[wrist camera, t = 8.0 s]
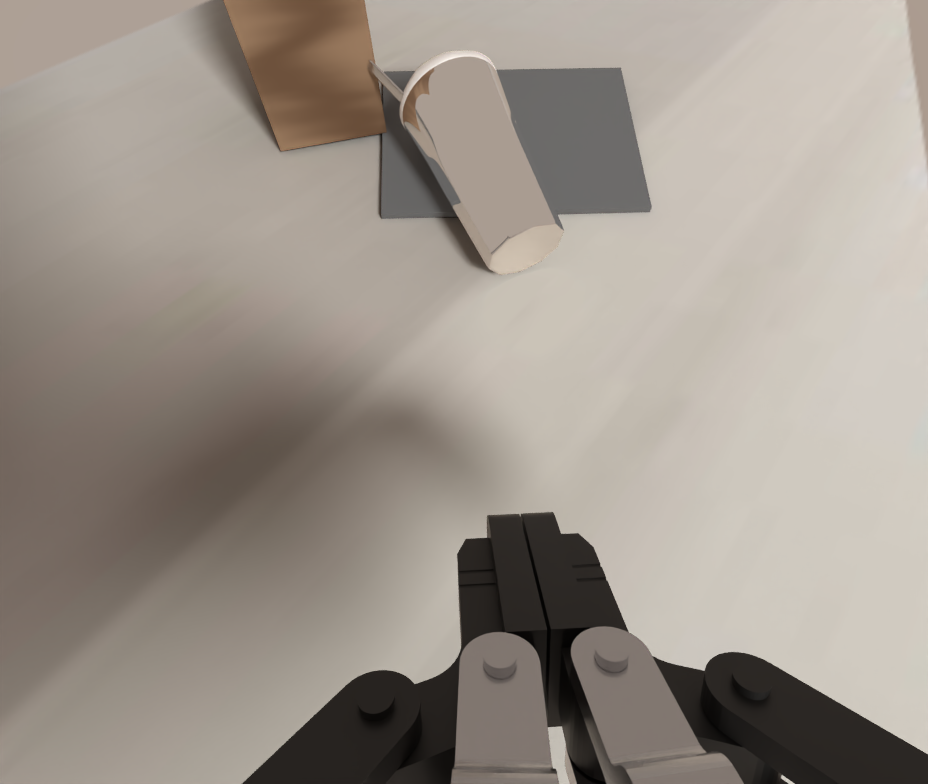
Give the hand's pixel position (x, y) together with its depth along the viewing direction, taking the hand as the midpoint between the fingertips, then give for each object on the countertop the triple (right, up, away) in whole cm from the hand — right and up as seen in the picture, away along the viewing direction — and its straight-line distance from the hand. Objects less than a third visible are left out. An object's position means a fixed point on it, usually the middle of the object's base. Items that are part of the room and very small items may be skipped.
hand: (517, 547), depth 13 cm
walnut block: (-8, +17, +15) cm, 24 cm away
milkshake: (+1, +9, +9) cm, 13 cm away
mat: (+1, +16, +14) cm, 21 cm away
